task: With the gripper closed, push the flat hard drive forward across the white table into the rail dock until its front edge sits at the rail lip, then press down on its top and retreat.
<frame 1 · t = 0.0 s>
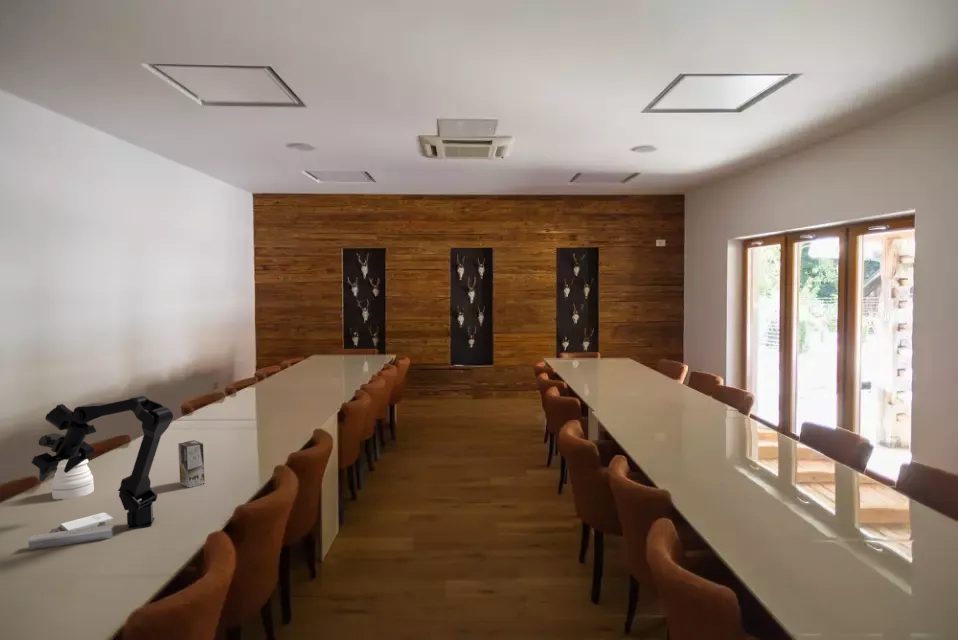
hand: (53, 476, 187), 15 cm above the table, tool tilted 35°, fingers open, 9 cm apart
external hard drive: (86, 525, 185), on the table
coffee box: (192, 484, 223), on the table
rail dock: (72, 542, 171), on the table
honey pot: (73, 493, 214), on the table
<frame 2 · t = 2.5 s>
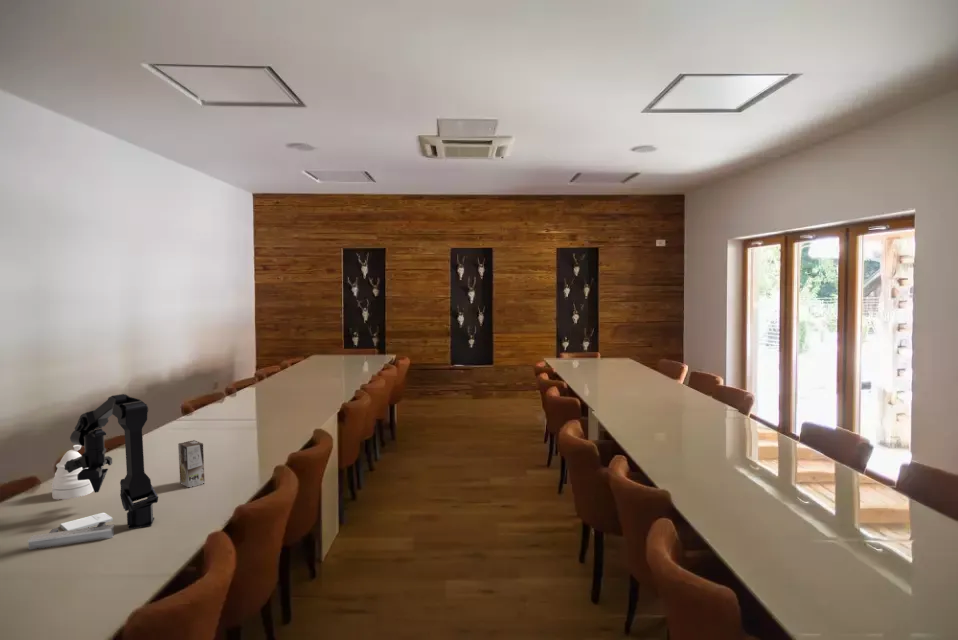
hand: (96, 492, 197), 6 cm above the table, tool pointing down, fingers closed
nothing on the table moved.
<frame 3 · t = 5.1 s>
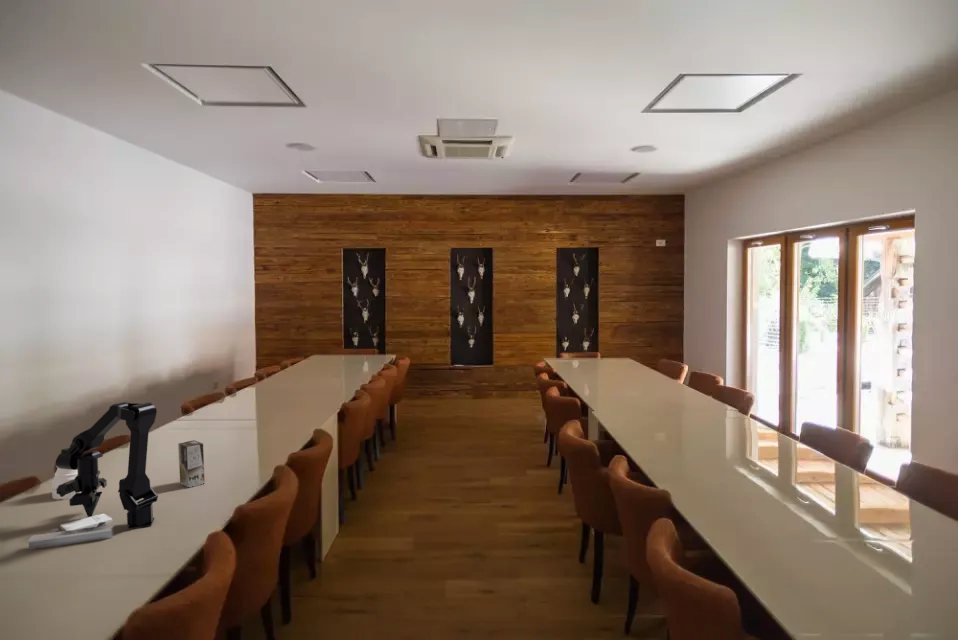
hand: (90, 516, 189), 1 cm above the table, tool pointing down, fingers closed
nothing on the table moved.
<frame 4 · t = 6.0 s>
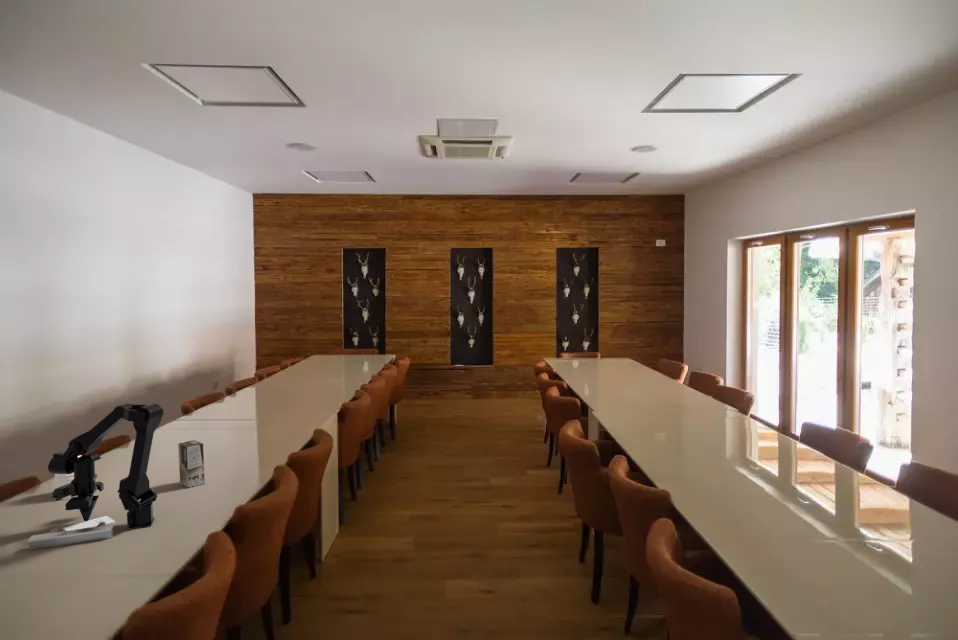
hand: (86, 520, 186), 1 cm above the table, tool pointing down, fingers closed
external hard drive: (89, 529, 182), on the table, touching gripper
everything else where it was.
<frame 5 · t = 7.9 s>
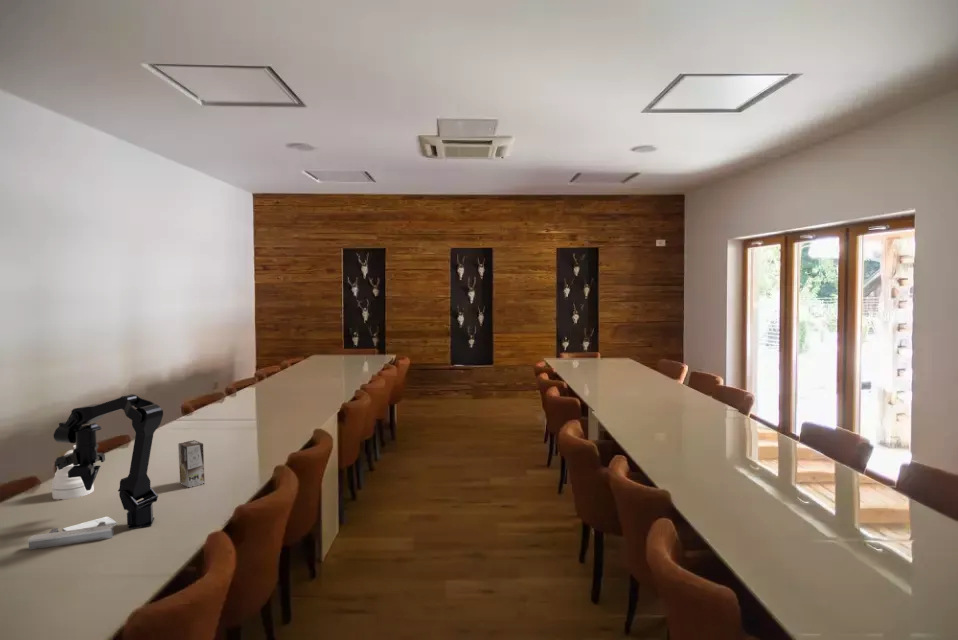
hand: (88, 490, 188), 10 cm above the table, tool pointing down, fingers closed
external hard drive: (90, 530, 182), on the table
everything else where it was.
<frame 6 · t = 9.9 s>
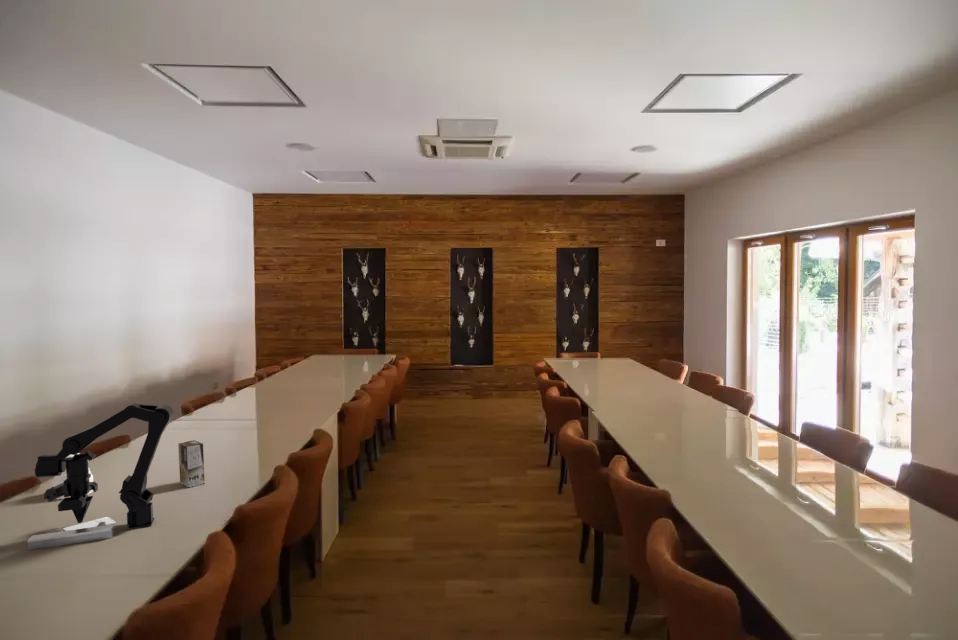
hand: (80, 522, 179), 3 cm above the table, tool pointing down, fingers closed
nothing on the table moved.
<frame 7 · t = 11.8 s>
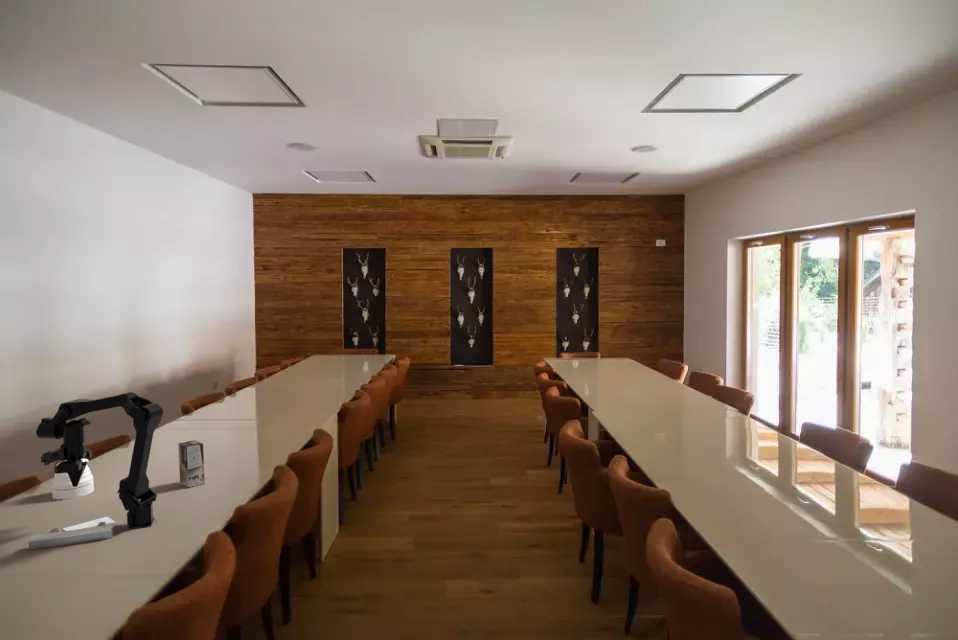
hand: (75, 486, 184), 12 cm above the table, tool pointing down, fingers closed
nothing on the table moved.
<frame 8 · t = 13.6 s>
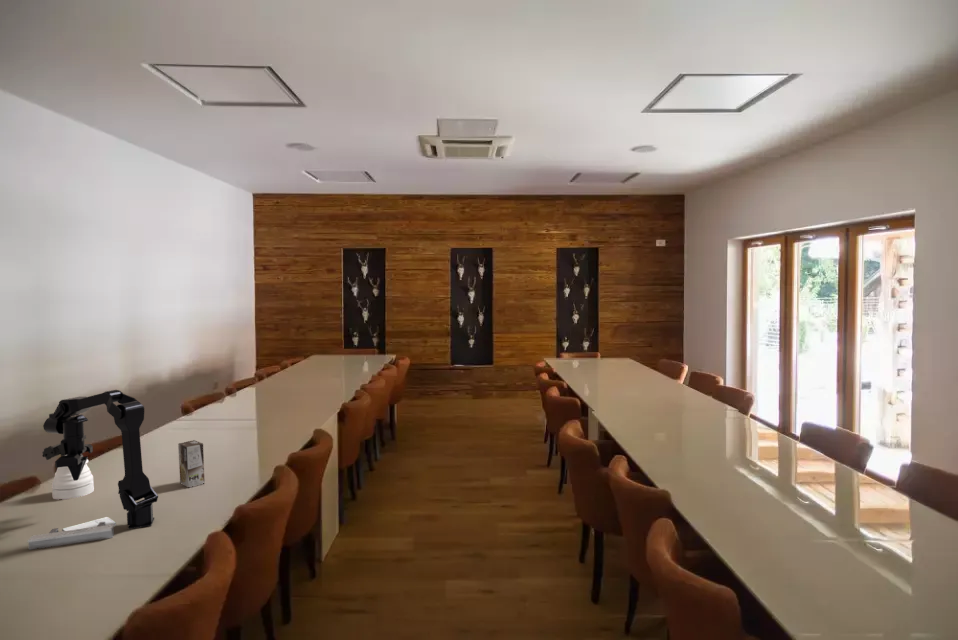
hand: (76, 480, 192), 12 cm above the table, tool pointing down, fingers closed
nothing on the table moved.
at the end: external hard drive 2.6 cm from the target spot on the rail dock, point -0.7 cm above the rail dock's base; external hard drive tilted 1° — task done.
